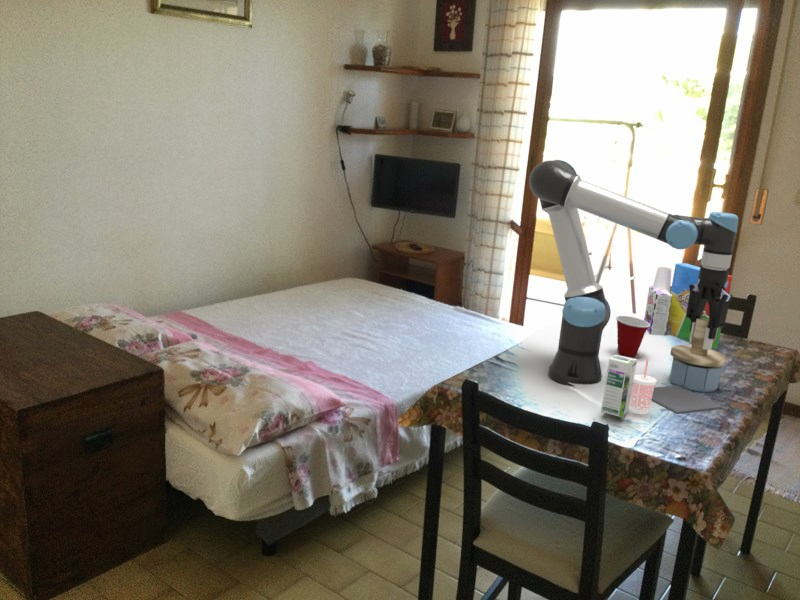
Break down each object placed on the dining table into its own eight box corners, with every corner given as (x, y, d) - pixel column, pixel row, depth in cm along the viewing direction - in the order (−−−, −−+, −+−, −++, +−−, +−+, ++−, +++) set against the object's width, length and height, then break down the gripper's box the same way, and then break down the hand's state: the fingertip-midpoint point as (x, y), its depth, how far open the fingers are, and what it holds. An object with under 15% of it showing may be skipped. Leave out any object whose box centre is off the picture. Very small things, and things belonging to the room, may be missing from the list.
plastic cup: (640, 362, 216) (646, 326, 213) (606, 354, 222) (612, 319, 219) (648, 354, 225) (654, 320, 222) (615, 347, 231) (620, 313, 228)
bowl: (693, 393, 191) (697, 370, 190) (659, 377, 203) (663, 355, 201) (727, 390, 196) (731, 367, 195) (692, 374, 208) (696, 353, 206)
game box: (662, 335, 251) (674, 263, 245) (673, 334, 253) (686, 263, 247) (706, 352, 233) (720, 275, 226) (718, 351, 235) (732, 275, 228)
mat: (676, 413, 176) (677, 412, 175) (634, 391, 190) (634, 389, 190) (722, 408, 182) (722, 406, 182) (677, 386, 196) (677, 385, 196)
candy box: (642, 326, 260) (648, 285, 257) (658, 328, 260) (665, 286, 256) (648, 336, 247) (655, 292, 243) (665, 338, 246) (673, 294, 242)
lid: (698, 368, 188) (705, 328, 185) (659, 351, 202) (665, 314, 199) (737, 364, 194) (745, 326, 191) (697, 348, 207) (703, 312, 205)
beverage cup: (654, 411, 176) (663, 360, 173) (645, 417, 171) (654, 365, 168) (632, 404, 180) (640, 354, 177) (622, 410, 175) (630, 358, 172)
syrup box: (600, 412, 173) (608, 358, 169) (607, 405, 178) (615, 353, 174) (622, 418, 170) (631, 363, 166) (629, 411, 175) (637, 358, 171)
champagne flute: (653, 327, 261) (662, 266, 256) (667, 331, 256) (678, 269, 250) (641, 328, 258) (651, 266, 252) (656, 333, 252) (666, 270, 247)
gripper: (750, 274, 185) (733, 355, 191) (700, 261, 201) (686, 336, 206) (730, 274, 182) (714, 356, 188) (681, 261, 198) (667, 338, 203)
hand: (699, 346), depth 197 cm, fingers closed on lid, 4 cm apart
